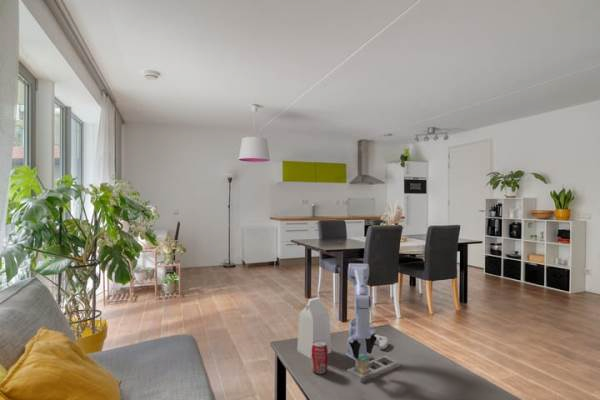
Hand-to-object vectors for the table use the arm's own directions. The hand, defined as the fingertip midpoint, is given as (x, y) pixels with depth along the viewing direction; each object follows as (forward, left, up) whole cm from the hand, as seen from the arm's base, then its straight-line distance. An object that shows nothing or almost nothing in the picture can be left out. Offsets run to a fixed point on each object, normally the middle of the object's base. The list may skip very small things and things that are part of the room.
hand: (362, 355), depth 145 cm
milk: (-29, -4, -9) cm, 30 cm away
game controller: (-18, +27, -9) cm, 34 cm away
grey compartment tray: (0, +7, -8) cm, 11 cm away
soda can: (-13, -13, -9) cm, 20 cm away
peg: (0, 0, -8) cm, 9 cm away
